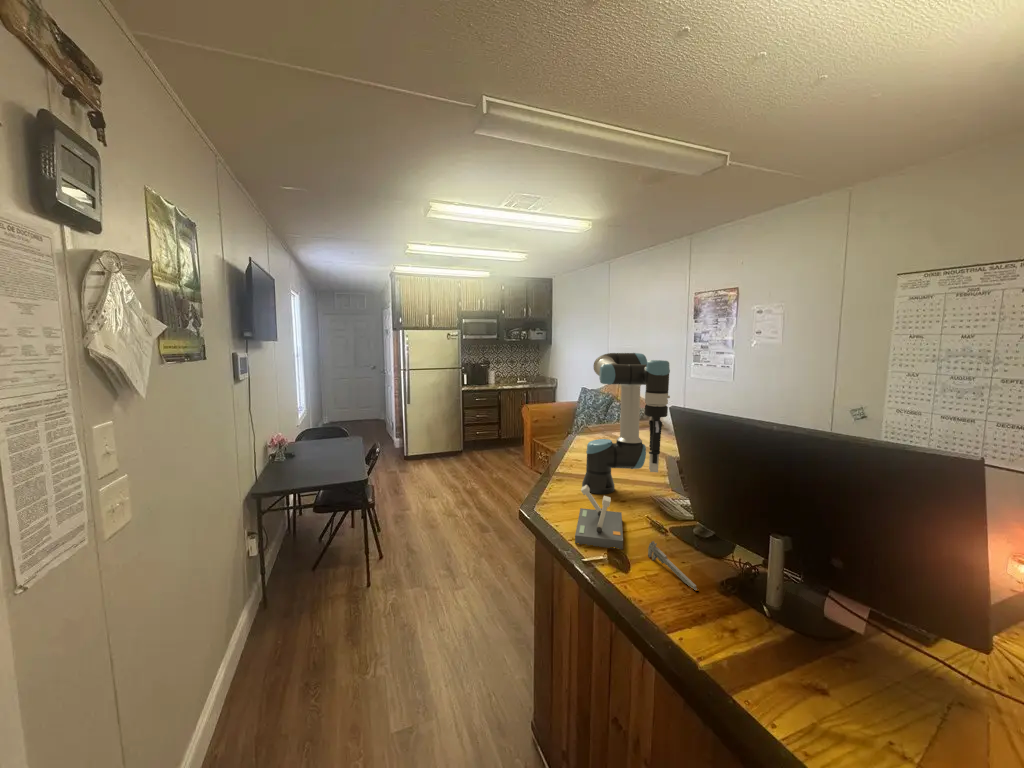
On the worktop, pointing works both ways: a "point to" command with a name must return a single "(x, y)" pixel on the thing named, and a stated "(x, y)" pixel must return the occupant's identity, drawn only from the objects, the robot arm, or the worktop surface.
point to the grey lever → (603, 512)
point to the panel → (610, 529)
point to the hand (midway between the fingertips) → (653, 470)
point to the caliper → (668, 563)
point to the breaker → (591, 498)
